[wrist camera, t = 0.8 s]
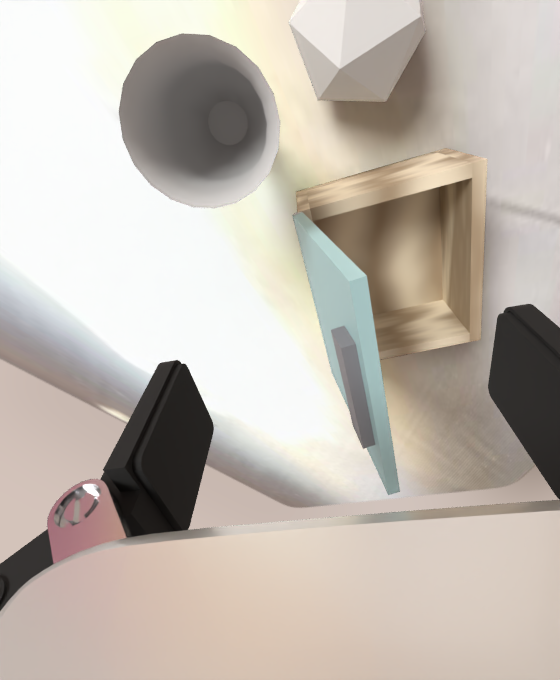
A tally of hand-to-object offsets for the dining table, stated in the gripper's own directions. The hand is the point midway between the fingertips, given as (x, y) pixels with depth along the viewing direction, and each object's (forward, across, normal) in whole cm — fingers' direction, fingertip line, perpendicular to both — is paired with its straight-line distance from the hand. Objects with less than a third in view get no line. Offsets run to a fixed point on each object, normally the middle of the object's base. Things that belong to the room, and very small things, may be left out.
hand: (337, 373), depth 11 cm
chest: (+28, -6, +8) cm, 30 cm away
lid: (+13, -1, +8) cm, 15 cm away
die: (+28, -5, -10) cm, 31 cm away
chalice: (+28, +5, -7) cm, 29 cm away
